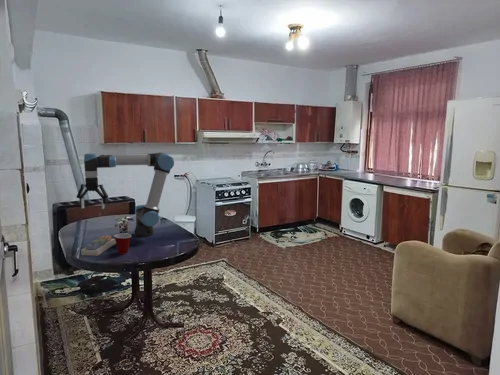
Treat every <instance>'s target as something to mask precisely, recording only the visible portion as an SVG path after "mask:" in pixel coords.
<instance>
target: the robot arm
mask: <svg viewBox="0 0 500 375" xmlns="http://www.w3.org/2000/svg"><path fill="white" fill-rule="evenodd" d="M83 158H84V159H83V162H84V176H85V178H84V181H85V183H81V184H80V188H79V191H77V192H78V193H77V194H76V198H77V199H79V204H81V205H80V206H81V209H85V198H84V197H85V196H86V194H87V193H88V192H95V193H97V195H98V196H99V197H101V200H100V201H101V210H104V209H105V208H106V207H105V206H106V203H107V201H106V199H108V198H109V194H108V193H107V192H106V190H105V188H104V185H103V183H101V184H99V179H98V176H99V175H98V169H101V168H103V169H104V168H110V169H111V168H116V167H117V166H147V167H153V172H154V175H153V178H152V182H151V185H150V189H149V192H148V195H147V196H148V197H147V200H146V203H145V204H139V205H136V206H135V222H136V223H135V228H134V231H133V235H134V236H135V237H139V238H147V237H151V236H154V235H155V234H156V232H155V228H154V226H155V225H157V224H158V223H159V221H160V215H159V213H160V209H161V208H160V207H159V206H160V201H161V197H162V193H163V191H164V186H165V182H166V179H167V176H168V175H169V174H170V172H171V170H172V169H173V167H174V165H175V160H174V157H173V156H172V155H171V154H170V153H166V152H165V153H164V152H154V153H153V152H152V153H147V154H100V155H98V154H96V153H85V154H84V155H83ZM84 189H85V190H84Z"/></svg>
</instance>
